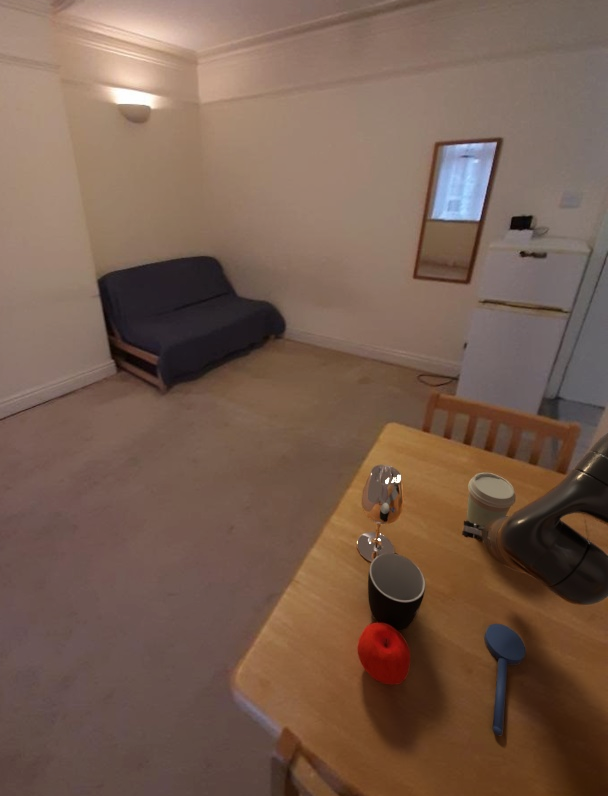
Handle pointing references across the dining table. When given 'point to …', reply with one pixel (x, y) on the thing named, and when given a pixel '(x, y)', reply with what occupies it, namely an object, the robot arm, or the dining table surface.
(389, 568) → the mug
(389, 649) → the apple
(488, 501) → the coffee cup
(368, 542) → the wineglass
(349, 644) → the dining table surface
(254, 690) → the dining table surface
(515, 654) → the blue spoon
